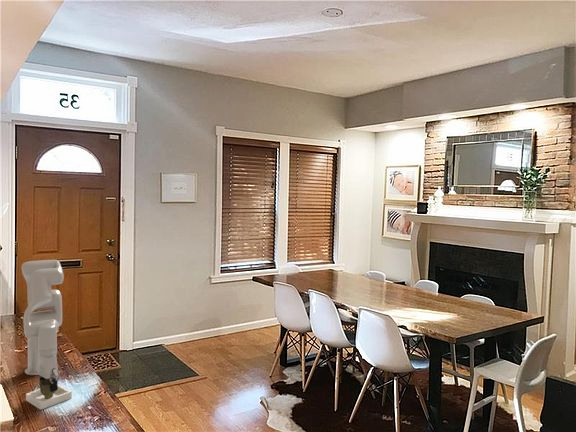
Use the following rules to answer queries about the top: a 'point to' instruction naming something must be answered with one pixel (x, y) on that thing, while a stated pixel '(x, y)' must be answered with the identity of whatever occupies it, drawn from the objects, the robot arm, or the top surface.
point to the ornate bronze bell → (46, 388)
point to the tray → (42, 403)
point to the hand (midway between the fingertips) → (48, 387)
